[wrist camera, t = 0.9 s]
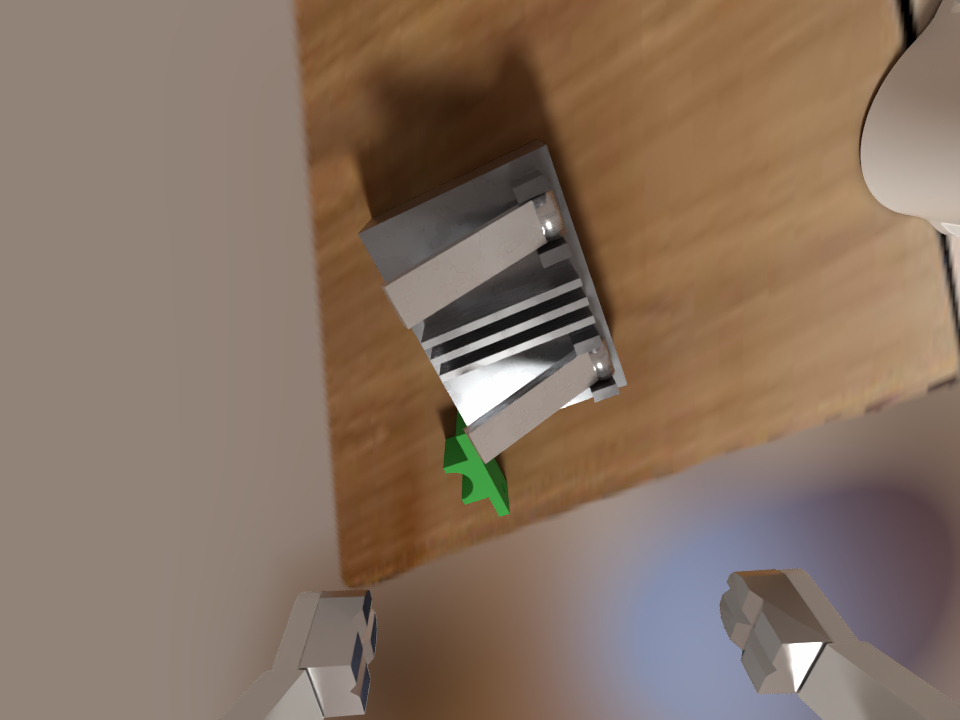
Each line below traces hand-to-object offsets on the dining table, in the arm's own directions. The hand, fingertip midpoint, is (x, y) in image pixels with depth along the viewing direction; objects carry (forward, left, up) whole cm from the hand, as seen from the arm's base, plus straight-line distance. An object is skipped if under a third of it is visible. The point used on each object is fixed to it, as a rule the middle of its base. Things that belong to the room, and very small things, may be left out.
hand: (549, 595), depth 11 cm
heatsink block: (+1, +4, -31) cm, 31 cm away
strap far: (+1, +10, -23) cm, 26 cm away
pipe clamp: (+11, +19, -32) cm, 38 cm away
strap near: (+1, -2, -23) cm, 24 cm away
